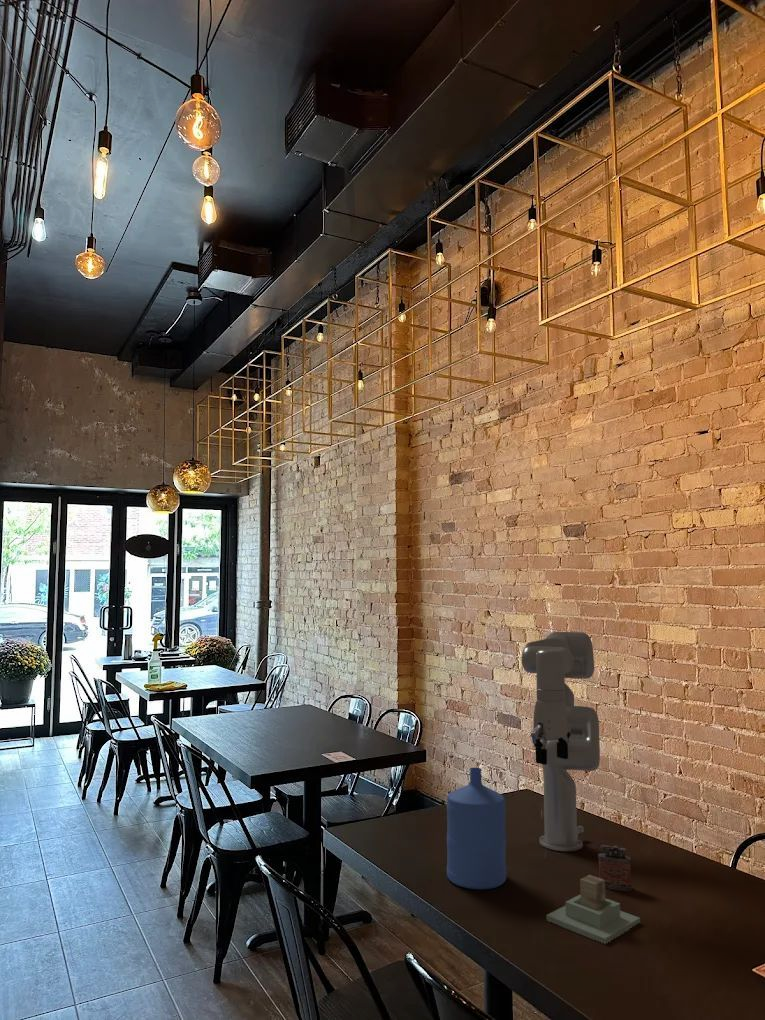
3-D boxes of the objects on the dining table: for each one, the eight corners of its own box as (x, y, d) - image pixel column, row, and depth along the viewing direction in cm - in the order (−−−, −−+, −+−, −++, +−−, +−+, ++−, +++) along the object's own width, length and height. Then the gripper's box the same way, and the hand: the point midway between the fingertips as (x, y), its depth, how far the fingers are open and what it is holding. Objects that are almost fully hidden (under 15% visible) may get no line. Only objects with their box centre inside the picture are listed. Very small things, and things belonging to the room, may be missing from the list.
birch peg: (590, 910, 166) (589, 874, 167) (605, 916, 164) (604, 879, 164) (580, 915, 164) (580, 879, 165) (596, 921, 161) (595, 884, 162)
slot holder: (582, 902, 174) (582, 884, 174) (640, 923, 163) (639, 903, 163) (546, 920, 164) (546, 901, 164) (605, 944, 153) (604, 923, 153)
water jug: (505, 893, 179) (504, 778, 182) (443, 887, 182) (443, 774, 185) (507, 870, 194) (506, 763, 197) (450, 865, 197) (449, 760, 200)
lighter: (631, 886, 183) (630, 846, 185) (631, 891, 180) (630, 850, 181) (599, 882, 186) (598, 842, 187) (598, 887, 183) (597, 846, 184)
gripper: (557, 691, 201) (558, 753, 199) (520, 697, 190) (521, 763, 188) (580, 694, 196) (582, 758, 194) (543, 700, 184) (544, 768, 182)
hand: (552, 760), depth 191 cm, fingers open, 9 cm apart
